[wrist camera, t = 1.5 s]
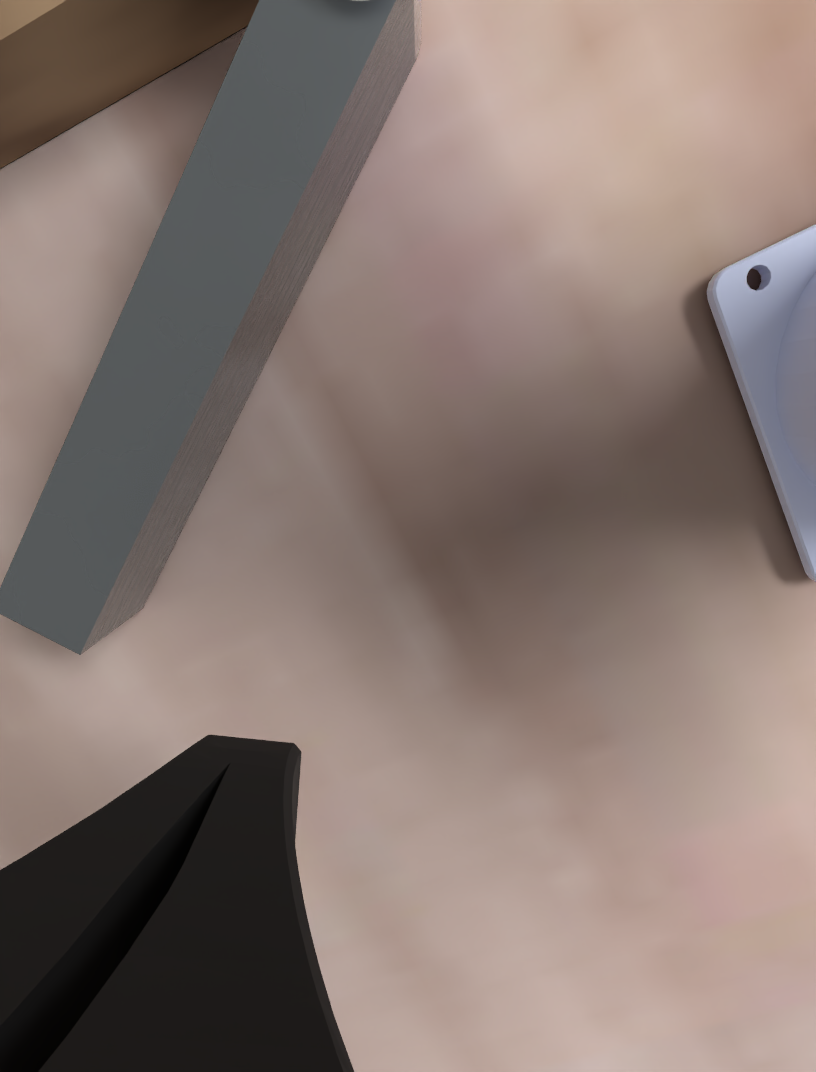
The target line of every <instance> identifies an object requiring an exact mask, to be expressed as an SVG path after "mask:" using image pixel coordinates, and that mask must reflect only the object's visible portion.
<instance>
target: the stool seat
mask: <svg viewBox="0 0 816 1072" xmlns="http://www.w3.org/2000/svg"><path fill="white" fill-rule="evenodd" d="M258 2H259V0H0V168H2V167H4V166H5V165H7V164H9V163H11V162H12V161H14V160H16V159H18V158H19V157H21V156H23V155H24V154H26V153H28V152H30V151H31V150H33V149H35V148H37V147H38V146H40V145H42V144H43V143H45V142H47V141H49V140H50V139H52V138H54V137H56V136H57V135H59V134H61V133H62V132H64V131H66V130H68V129H69V128H71V127H73V126H75V125H76V124H78V123H80V122H81V121H83V120H85V119H87V118H88V117H90V116H92V115H94V114H95V113H97V112H99V111H100V110H102V109H104V108H106V107H107V106H109V105H111V104H113V103H114V102H116V101H118V100H120V99H121V98H123V97H125V96H126V95H128V94H130V93H132V92H133V91H135V90H137V89H139V88H140V87H142V86H144V85H145V84H147V83H149V82H151V81H152V80H154V79H156V78H158V77H159V76H161V75H163V74H164V73H166V72H168V71H170V70H171V69H173V68H175V67H177V66H178V65H180V64H182V63H183V62H185V61H187V60H189V59H190V58H192V57H194V56H196V55H197V54H199V53H201V52H203V51H204V50H206V49H208V48H209V47H211V46H213V45H215V44H216V43H218V42H220V41H222V40H223V39H225V38H227V37H228V36H230V35H232V34H234V33H235V32H237V31H239V30H241V29H242V28H244V27H246V26H247V25H249V22H250V20H251V18H252V15H253V13H254V11H255V9H256V6H257V4H258Z"/></svg>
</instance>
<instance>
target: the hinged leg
mask: <svg viewBox="0 0 816 1072" xmlns="http://www.w3.org/2000/svg"><path fill="white" fill-rule="evenodd" d="M420 45H421V0H259V2H258V4H257V6H256V9H255V11H254V13H253V15H252V18H251V20H250V22H249V25H248V27H247V29H246V31H245V34H244V36H243V38H242V40H241V43H240V45H239V47H238V49H237V52H236V54H235V56H234V59H233V61H232V63H231V65H230V68H229V70H228V72H227V74H226V77H225V79H224V81H223V84H222V86H221V88H220V90H219V93H218V95H217V97H216V99H215V102H214V104H213V106H212V109H211V111H210V113H209V115H208V118H207V120H206V122H205V124H204V127H203V129H202V131H201V133H200V136H199V138H198V140H197V143H196V145H195V147H194V149H193V152H192V154H191V156H190V158H189V161H188V163H187V165H186V168H185V170H184V172H183V174H182V177H181V179H180V181H179V183H178V186H177V188H176V190H175V193H174V195H173V197H172V199H171V202H170V204H169V206H168V208H167V211H166V213H165V215H164V217H163V220H162V222H161V224H160V227H159V229H158V231H157V233H156V236H155V238H154V240H153V242H152V245H151V247H150V249H149V252H148V254H147V256H146V258H145V261H144V263H143V265H142V267H141V270H140V272H139V274H138V277H137V279H136V281H135V283H134V286H133V288H132V290H131V292H130V295H129V297H128V299H127V301H126V304H125V306H124V308H123V311H122V313H121V315H120V317H119V320H118V322H117V324H116V326H115V329H114V331H113V333H112V336H111V338H110V340H109V342H108V345H107V347H106V349H105V351H104V354H103V356H102V358H101V361H100V363H99V365H98V367H97V370H96V372H95V374H94V376H93V379H92V381H91V383H90V385H89V388H88V390H87V392H86V395H85V397H84V399H83V401H82V404H81V406H80V408H79V410H78V413H77V415H76V417H75V420H74V422H73V424H72V426H71V429H70V431H69V433H68V435H67V438H66V440H65V442H64V445H63V447H62V449H61V451H60V454H59V456H58V458H57V460H56V463H55V465H54V467H53V469H52V472H51V474H50V476H49V479H48V481H47V483H46V485H45V488H44V490H43V492H42V494H41V497H40V499H39V501H38V504H37V506H36V508H35V510H34V513H33V515H32V517H31V519H30V522H29V524H28V526H27V529H26V531H25V533H24V535H23V538H22V540H21V542H20V544H19V547H18V549H17V551H16V553H15V556H14V558H13V560H12V563H11V565H10V567H9V569H8V572H7V574H6V576H5V578H4V581H3V583H2V585H1V588H0V614H2V615H3V616H5V617H7V618H9V619H11V620H13V621H15V622H17V623H19V624H21V625H23V626H25V627H27V628H29V629H31V630H33V631H35V632H37V633H38V634H40V635H42V636H44V637H46V638H48V639H50V640H52V641H54V642H56V643H58V644H60V645H62V646H64V647H66V648H68V649H70V650H72V651H73V652H75V653H77V654H79V655H81V654H82V653H83V652H85V651H86V650H87V649H89V648H90V647H91V646H93V645H94V644H95V643H97V642H98V641H99V640H101V639H102V638H103V637H105V636H106V635H107V634H109V633H110V632H112V631H113V630H114V629H116V628H117V627H118V626H120V625H121V624H122V623H124V622H125V621H126V620H128V619H129V618H130V617H132V616H133V615H134V614H136V613H137V612H138V611H140V610H141V609H143V607H144V605H145V603H146V601H147V599H148V597H149V595H150V593H151V591H152V589H153V587H154V585H155V583H156V581H157V579H158V577H159V575H160V573H161V571H162V569H163V567H164V565H165V563H166V561H167V559H168V557H169V555H170V553H171V551H172V549H173V547H174V545H175V543H176V541H177V539H178V537H179V535H180V533H181V531H182V529H183V527H184V525H185V523H186V521H187V519H188V517H189V515H190V513H191V511H192V509H193V507H194V505H195V503H196V501H197V499H198V497H199V495H200V493H201V491H202V489H203V487H204V485H205V483H206V481H207V479H208V477H209V475H210V473H211V471H212V469H213V467H214V465H215V463H216V461H217V459H218V457H219V455H220V453H221V451H222V448H223V446H224V444H225V442H226V440H227V438H228V436H229V434H230V432H231V430H232V428H233V426H234V424H235V422H236V420H237V418H238V416H239V414H240V412H241V410H242V408H243V406H244V404H245V402H246V400H247V398H248V396H249V394H250V392H251V390H252V388H253V386H254V384H255V382H256V380H257V378H258V376H259V374H260V372H261V370H262V368H263V366H264V364H265V362H266V360H267V358H268V356H269V354H270V352H271V350H272V348H273V346H274V344H275V342H276V340H277V338H278V336H279V334H280V332H281V330H282V328H283V326H284V324H285V322H286V320H287V318H288V316H289V314H290V312H291V310H292V308H293V306H294V304H295V302H296V300H297V298H298V296H299V294H300V292H301V290H302V288H303V286H304V284H305V282H306V280H307V278H308V276H309V274H310V272H311V270H312V268H313V266H314V264H315V262H316V260H317V258H318V256H319V254H320V252H321V250H322V248H323V246H324V244H325V242H326V240H327V238H328V236H329V234H330V232H331V230H332V228H333V226H334V224H335V222H336V220H337V218H338V216H339V214H340V211H341V209H342V207H343V205H344V203H345V201H346V199H347V197H348V195H349V193H350V191H351V189H352V187H353V185H354V183H355V181H356V179H357V177H358V175H359V173H360V171H361V169H362V167H363V165H364V163H365V161H366V159H367V157H368V155H369V153H370V151H371V149H372V147H373V145H374V143H375V141H376V139H377V137H378V135H379V133H380V131H381V129H382V127H383V125H384V123H385V121H386V119H387V117H388V115H389V113H390V111H391V109H392V107H393V105H394V103H395V101H396V99H397V97H398V95H399V93H400V91H401V89H402V87H403V85H404V83H405V81H406V79H407V77H408V75H409V73H410V71H411V69H412V67H413V65H414V63H415V61H416V58H417V56H418V53H419V50H420Z"/></svg>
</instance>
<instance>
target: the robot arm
mask: <svg viewBox="0 0 816 1072" xmlns="http://www.w3.org/2000/svg"><path fill="white" fill-rule="evenodd" d="M751 268H753V269H755V270H758V272H759V273H760V275H761V284H760V286H759V288H758V289H757V290H753V289H751V288H750V287H749V286H748V284H747V278H746V276H747V274H748V272H749V270H750V269H751ZM707 298H708V303H709V305H710V308H711V311H712V314H713V317H714V319H715V322H716V325H717V328H718V330H719V333H720V336H721V339H722V342H723V344H724V347H725V350H726V353H727V356H728V358H729V361H730V364H731V367H732V370H733V372H734V375H735V378H736V381H737V383H738V386H739V389H740V392H741V395H742V397H743V400H744V403H745V406H746V409H747V411H748V414H749V417H750V420H751V422H752V425H753V428H754V431H755V434H756V436H757V439H758V442H759V445H760V448H761V450H762V453H763V456H764V459H765V462H766V464H767V467H768V470H769V473H770V475H771V478H772V481H773V484H774V487H775V489H776V492H777V495H778V498H779V501H780V503H781V506H782V509H783V512H784V515H785V517H786V520H787V523H788V526H789V528H790V531H791V534H792V537H793V540H794V542H795V545H796V548H797V551H798V554H799V556H800V559H801V562H802V565H803V568H804V570H805V572H806V574H807V576H808V577H809V578H810V579H812V580H813V581H815V582H816V224H815V225H813V226H811V227H809V228H806V229H804V230H802V231H800V232H798V233H796V234H794V235H792V236H790V237H788V238H786V239H784V240H782V241H779V242H777V243H775V244H773V245H771V246H769V247H767V248H765V249H763V250H761V251H759V252H757V253H755V254H753V255H750V256H748V257H746V258H744V259H742V260H740V261H738V262H736V263H734V264H732V265H730V266H728V267H726V268H724V269H722V270H720V271H719V272H717V273H716V274H715V275H714V276H713V277H712V279H711V280H710V282H709V284H708V288H707ZM300 764H301V751H300V750H299V748H298V747H297V746H296V745H295V744H294V743H286V742H276V741H266V740H256V739H246V738H236V737H227V736H217V735H208V736H206V737H205V738H203V739H201V740H200V741H198V742H197V743H195V744H194V745H192V746H191V747H190V748H188V749H187V750H185V751H184V752H182V753H181V754H180V755H178V756H177V757H175V758H174V759H172V760H171V761H170V762H168V763H167V764H165V765H164V766H162V767H161V768H160V769H158V770H157V771H155V772H154V773H153V774H151V775H150V776H148V777H147V778H145V779H144V780H142V781H141V782H139V783H138V784H136V785H135V786H134V787H132V788H131V789H129V790H128V791H126V792H125V793H123V794H122V795H120V796H119V797H117V798H116V799H114V800H113V801H111V802H110V803H109V804H107V805H106V806H104V807H103V808H101V809H100V810H98V811H97V812H95V813H93V814H92V815H90V816H88V817H87V818H85V819H84V820H82V821H80V822H79V823H77V824H76V825H74V826H72V827H71V828H69V829H67V830H66V831H64V832H63V833H61V834H59V835H58V836H56V837H54V838H53V839H51V840H50V841H48V842H46V843H45V844H43V845H41V846H40V847H38V848H37V849H35V850H33V851H32V852H30V853H29V854H27V855H25V856H24V857H22V858H20V859H19V860H17V861H15V862H13V863H12V864H10V865H8V866H6V867H5V868H3V869H1V870H0V1072H354V1070H353V1067H352V1065H351V1062H350V1059H349V1056H348V1053H347V1051H346V1048H345V1045H344V1042H343V1040H342V1037H341V1034H340V1031H339V1029H338V1026H337V1023H336V1020H335V1017H334V1014H333V1011H332V1008H331V1005H330V1001H329V998H328V994H327V991H326V988H325V984H324V981H323V978H322V974H321V971H320V967H319V964H318V960H317V956H316V952H315V948H314V944H313V940H312V937H311V932H310V928H309V924H308V919H307V915H306V910H305V905H304V900H303V894H302V889H301V883H300V877H299V871H298V865H297V857H296V850H295V835H296V820H297V806H298V792H299V778H300Z"/></svg>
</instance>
